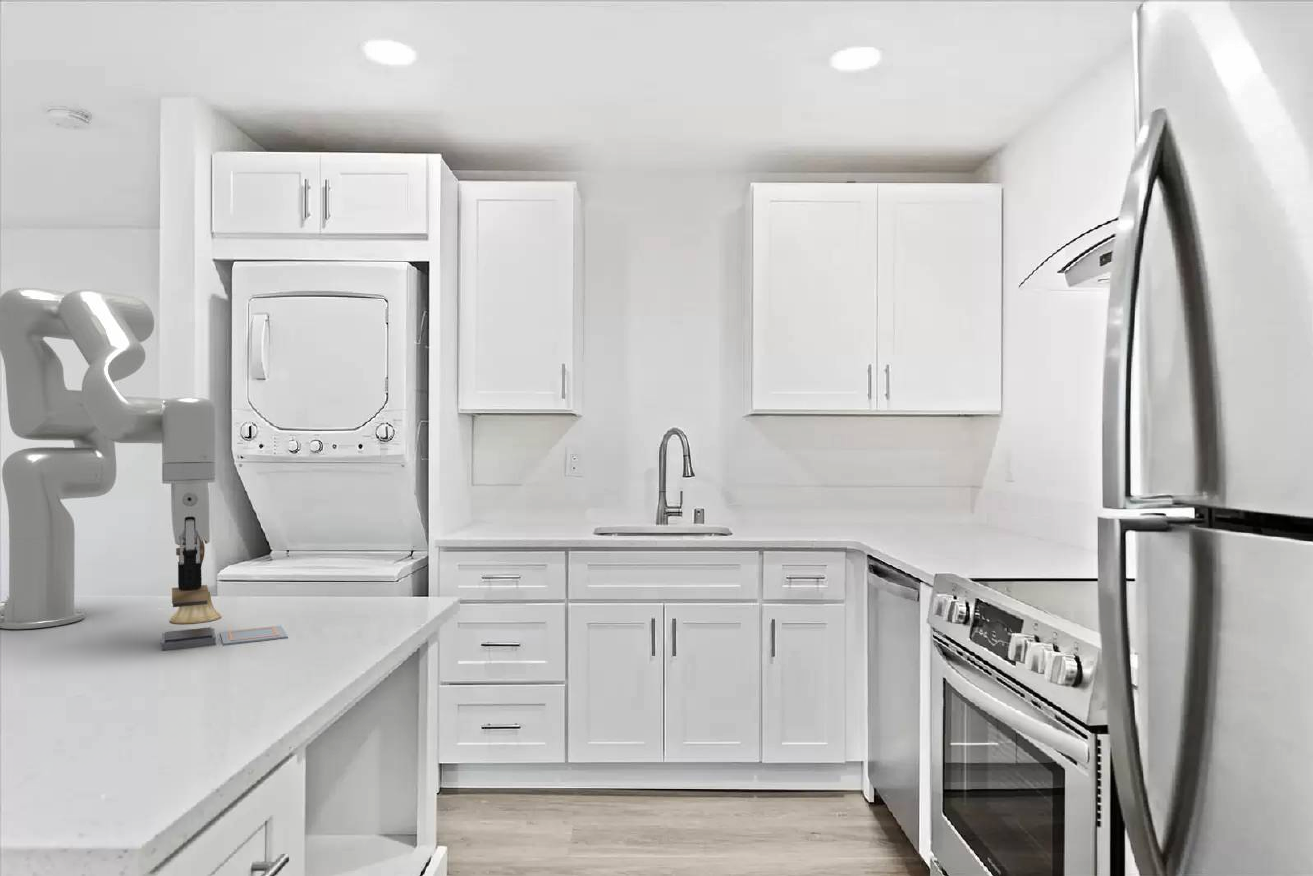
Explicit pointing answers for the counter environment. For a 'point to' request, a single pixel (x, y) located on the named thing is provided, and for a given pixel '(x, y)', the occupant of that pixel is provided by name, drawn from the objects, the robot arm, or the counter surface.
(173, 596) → the stamp
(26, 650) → the counter surface
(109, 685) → the counter surface
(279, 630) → the card
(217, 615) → the hand bell
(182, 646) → the ink pad
